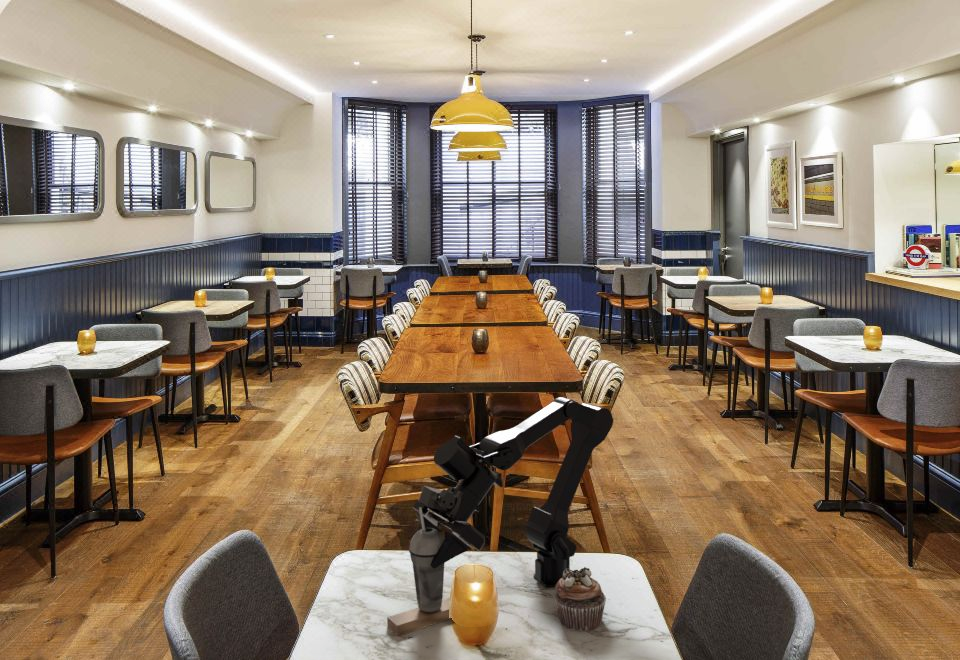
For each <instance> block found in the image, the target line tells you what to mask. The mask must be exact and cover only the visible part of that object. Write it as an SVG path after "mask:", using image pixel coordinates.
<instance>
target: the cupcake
mask: <svg viewBox="0 0 960 660" xmlns="http://www.w3.org/2000/svg"><path fill="white" fill-rule="evenodd" d="M592 573H593V572H592V570H590V568H587V567H586V566H584V567H582V568H581V569H579V570H578V569H574V570H572V569H568V568H566V569H565V571H564V572H563V578H561V579H560V580H559V581H558V582H557V584H556V586H555V592H554V599H555V604H556V607H557V608H556V609H557V614H558V617H559V621H560V623H561V625H562V626H563V627H564V628H566V629H568V630H573V631H576V632H577V631H579V632H584V631H585V632H588V631H593V630H595V629H597V628H599V627H600V626H601V624H602V621H603V616H604V610H605V606H606V600H607V596H606V595H605V594H604V592H603V590H602V586H601V584H600V583H599V582H598V580H596V579H594V578H592V577H591V576H592Z"/></svg>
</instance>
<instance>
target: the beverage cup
mask: <svg viewBox="0 0 960 660" xmlns="http://www.w3.org/2000/svg"><path fill="white" fill-rule="evenodd" d="M419 511H420V517H421V523H422V529H421V530H419V531H418V530H417V531H416V532H415V534H414V535H413V536H412V538H411V539H410V543H409V549H408V550H409V551H408V553H409V555H410V560H411V562H412V570H413V577H414V586H415V594H416V601H417V608H419V609H420V610H422V611H425V612H432V611H436V610H439V609H440V608H441V606H442V600H443V595H444V594H443V593H444V576H445V563H443V564H442V565H440V566H438V567H437V568H435V569H433V568H432V567H431V566H430V564H431V562H432V560H433V558H434V557H435V555H436V553H437V552H438V550H439V548H440V547H441V545H442V543H443V542H444V540H445V536H444V535H443V534H442V532H441V533H440V532H439V531H437V530H436V529H433V528H425V525H424V519H423V512H422V507H419Z"/></svg>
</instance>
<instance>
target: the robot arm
mask: <svg viewBox="0 0 960 660" xmlns="http://www.w3.org/2000/svg"><path fill="white" fill-rule="evenodd" d="M568 420H570V422H571V423H570V434H571V435H570V436H571V440H570V443H569V446H568V448H567V451H566V453H565V455H564V457H563V460H562V463H561V465H560V467H559V470H558V473H557V475H556V477H555V480H554V482H553V485H552V487H551V489H550V492H549V494H548V497H547V499H546V501H545V503H543V504H542V505H541V506H540V507H536V506H533V507H532V509H531V511H530V515H529V517H528V519H527V520H526V522H525V525H526V528H525V534H526V538H527V540H528V542H530V544H531V546H532V548H533V549H535V550H537V551H536V559H535V560H534V571H535V572H534V573H533V578H535V579H536V580H537V581H538V582H539V583H541V584H542V585H543V586H544V587H545V588H552V587H556V584H557V582H558V581H559V580H560V579H561V578H563V572H564V571H565V569H566V568H568V569H570V568H571V567H570V561H571V559H570V558H571V557H575V554H576V550H577V545H576V544H575V543H574V542H573V541H571V540H570V538H568V536H567V535H568V532H569V528H570V526H569V525H570V524H569V515H568V514H569V510H570V507H571V505H572V502H573V499H574V498H575V495H576V492H577V490H578V487H579V485H580V482H581V480H582V478H583V475H584V473H585V471H586V468H587V466H588V463H589V461H590V458H591V456H592V453H593V452H594V450H595V448H596V447H598V446H599V445H600V444H601V443H603V441H605V440H606V438H607V436H608V434H609V432H610V431H611V429H612V428H613V425H614V418H613V414H612V412H611V411H610V410H609V409H608V408H607V407H606V408H605V407H603V406H599V405H595V404H591V403H588V402H584V403H578V402H577V401H575V400H574V399H569V398H567V397H562V396H559V397H556V398H554V399H553V400H552V402H551V403H550V404H548V405H546V406H545V407H543V408H542V409H540V410H539V411H537V412H535V413H534V414H532V415H531V416H529V417H528V418H526V419H524V420H523V421H522V422H520V423H519V424H518V425H515V426H514V427H511V428H509V429H505V430H499V431H495V432H494V433H491V434H489V435H487V436H485V437H483V438H482V439H481V441H480V442H477V443H476V444H475V443H474V444H472V445H468V444H467V443H466V441H465V440H464V439H463V438H462V437H460V436H458V435H454V436H453V438H452V439H450V440H447V441H446V442H444V443H443V444H442V445H439V446H438V448H437V449H436V451H435V452H434V454H433V455H434V456H433V462H434V464H436V466H438V467H439V468H440V469H441V470H442V471H443V472H444V473H446V474H447V475H448V476H449V477H450V478H452V479H453V480H454V481H459V482H457V484H456V486H455V487H453V486H451V485H450V486H449V487H447V489H442V490H441V489H438V488H435V487H431V486H428V485H423V487H422V490H421V493H420V495H419V498H418V499H417V500H416V501H415V502H414V504H413V506H412V509H414V510H415V511H416V512H415V516H417V520H418V521H417V522H418V528H417V531H419V530H421V529H422V523H421V517H420V511H419V507H422V512H423V519H424V525H425V528H433V529H436V530H437V531H439V532H440V533H441V534H442V529H440V528H439V527H441V526H444V527H446V528H447V529H449V530H447V529H446V528H445V529H444V539H445V540H444V542H443V543H442V545H441V547H440V548H439V550H438V552H437V553H436V555H435V557H434V558H433V560H432V562H431V564H430V566H431V567H432V568H433V569H435V568H437V567H438V566H440V565H442V564H443V563H444V564H446V562H448V561H450V560H451V559H454V558H456V557H458V556H459V555H462V554H464V553H466V552H467V551H469V552H471V551H472V549H475V550H477V551H478V552H480V551H481V550H482V548H483V547H484V545H485V543H486V537H485V535H484V534H483V533H482V532H481V531H479V530H478V529H477V528H476V527H475V526H473V524H471V523H469V520H470V518H471V517H472V515H473V514H474V513H475V512H477V513H480V512H482V511H481V510H483V508H482V507H481V506H480V504H481V502H482V501H483V499H484V498H485V497H486V495H487V494H488V492H489V491H490V489H491V488H492V487H493V486H496V487H499V488H501V489H502V488H503V487H504V482H503V479H502V478H503V477H502V473H501V472H499V471H496V470H494V471H493V470H492V469H491V468H489V467H493V468H496V469H497V470H500V471H501V470H502V471H507V470H509V469H511V468H512V467H513V466H514V465H515V464H516V463H517V462H519V461H520V460H521V459H522V458H523V456H524V453H525V452H526V450H527V449H528V448H529V447H530V446H531V445H533V444H535V443H536V442H537V441H539V440H541V439H542V438H543V437H545V436H546V435H548V434H549V433H550V432H552V431H554V430H555V429H557V428H558V427H559V426H561V425H563V423H566V422H567V421H568ZM479 462H480V463H482V464H478V463H479ZM450 530H451V531H452V532H451V531H450ZM570 570H571V569H570Z"/></svg>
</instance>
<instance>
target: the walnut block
mask: <svg viewBox="0 0 960 660" xmlns="http://www.w3.org/2000/svg"><path fill="white" fill-rule="evenodd" d="M450 598H451V597H448V598H445V599H442V606H441V608H440V609H439V610H436V611H432V612H425V611H422V610H420V609H419V608H418V607H415V608H413V609H409V610H406V611H403V612H399V613H397V614H394V615H389V616H387V617H386V618H387V619H386V620H387V628H388V629H389V630H390V631H391V632H392V633H394V634H395V635H396V636H402V635H405V634H406V633H407V632H408V633H411V632H414V631H416V629H417V630H419V629H423V628H425V626H426V627H429V626H432V625H435V624H437V623H440V622H444V621H446V620H447V621H448V620H449V601H450ZM431 624H432V625H431ZM428 625H429V626H428ZM422 627H423V628H422ZM408 633H407V634H408Z"/></svg>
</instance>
